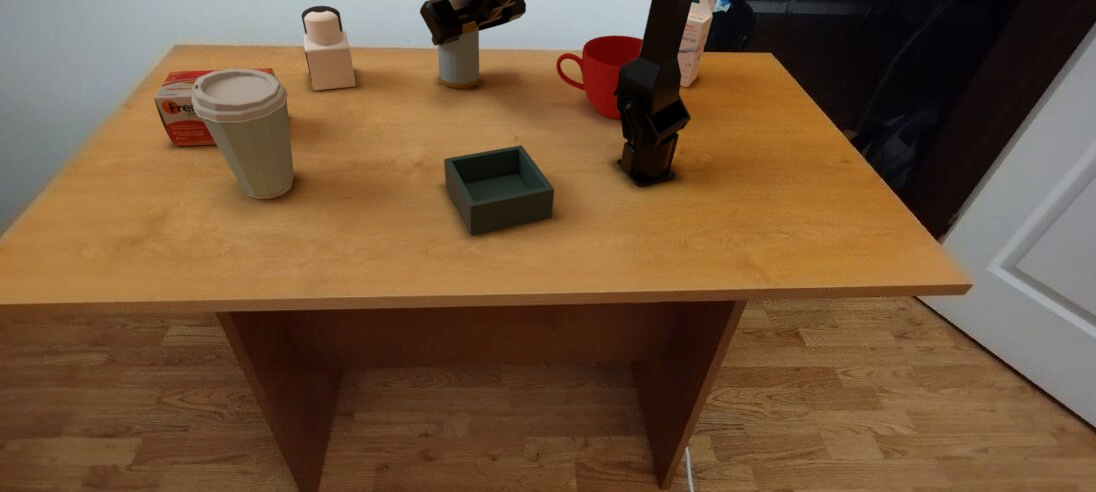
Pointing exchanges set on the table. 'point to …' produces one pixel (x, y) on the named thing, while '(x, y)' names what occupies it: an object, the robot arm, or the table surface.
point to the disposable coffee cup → (248, 127)
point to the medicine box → (184, 109)
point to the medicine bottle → (327, 49)
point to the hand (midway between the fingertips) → (452, 36)
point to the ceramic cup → (602, 69)
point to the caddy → (498, 189)
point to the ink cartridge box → (694, 40)
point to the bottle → (460, 57)
